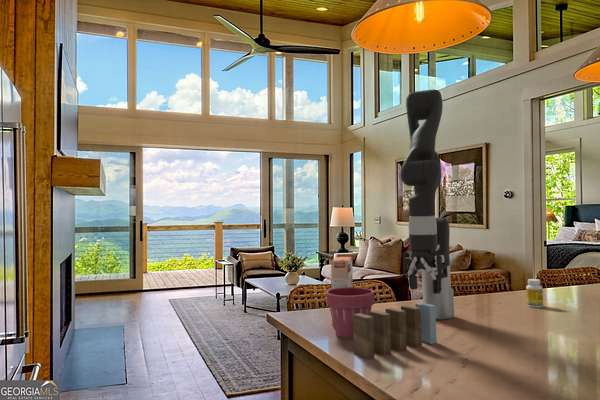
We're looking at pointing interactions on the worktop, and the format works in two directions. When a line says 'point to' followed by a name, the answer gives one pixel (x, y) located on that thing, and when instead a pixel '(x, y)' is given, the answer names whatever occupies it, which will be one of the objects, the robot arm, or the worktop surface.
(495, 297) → the worktop surface
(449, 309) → the robot arm
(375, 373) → the worktop surface
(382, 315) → the domino
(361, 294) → the plant pot
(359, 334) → the domino
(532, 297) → the supplement bottle
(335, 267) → the cracker box
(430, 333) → the domino
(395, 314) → the domino
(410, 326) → the domino
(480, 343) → the worktop surface
